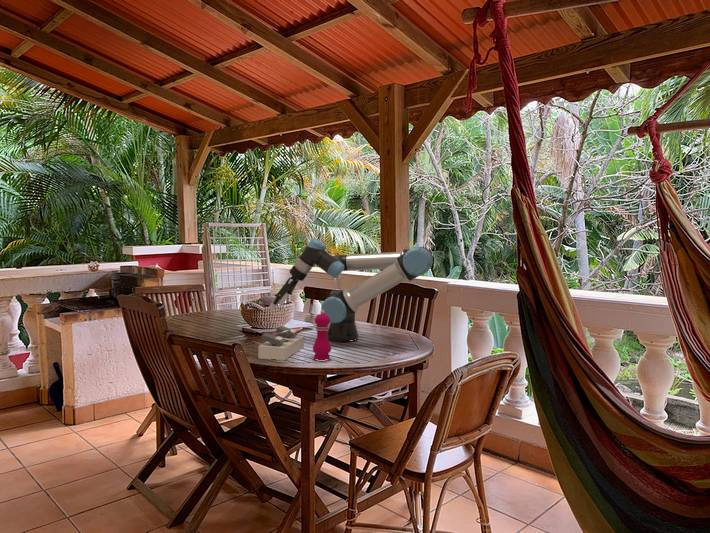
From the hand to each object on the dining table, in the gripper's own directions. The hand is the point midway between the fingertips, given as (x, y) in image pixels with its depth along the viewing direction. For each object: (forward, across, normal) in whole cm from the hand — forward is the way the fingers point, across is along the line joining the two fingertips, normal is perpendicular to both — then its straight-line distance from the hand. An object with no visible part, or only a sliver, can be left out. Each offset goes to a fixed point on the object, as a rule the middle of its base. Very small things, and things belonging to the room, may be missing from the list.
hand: (275, 306), depth 248 cm
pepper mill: (-3, +30, +32) cm, 44 cm away
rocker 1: (+2, +30, +11) cm, 32 cm away
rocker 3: (+1, +14, +12) cm, 19 cm away
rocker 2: (+1, +22, +12) cm, 25 cm away
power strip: (+7, +19, +17) cm, 26 cm away
